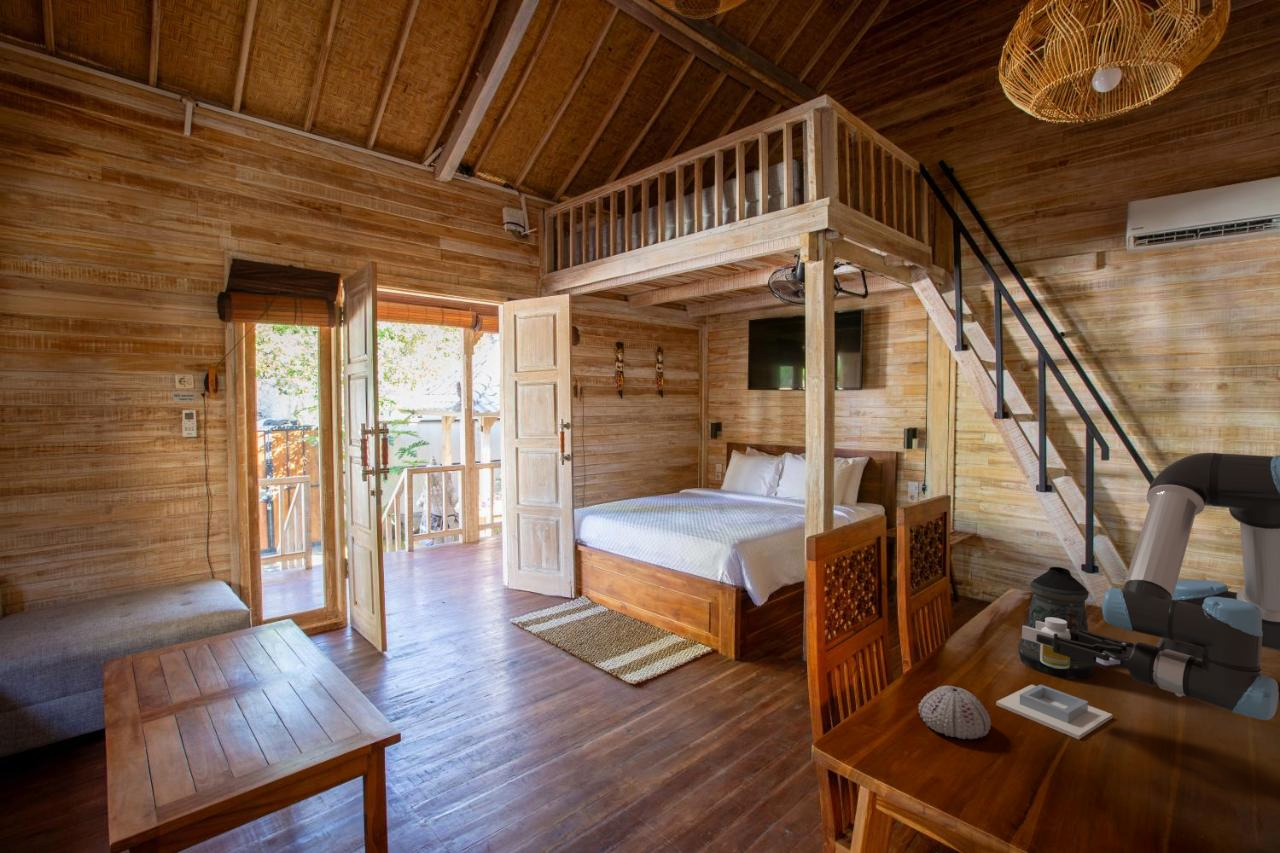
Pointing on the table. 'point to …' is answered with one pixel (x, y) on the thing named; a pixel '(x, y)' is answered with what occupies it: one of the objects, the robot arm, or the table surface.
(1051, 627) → the supplement bottle
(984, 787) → the table surface
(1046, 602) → the beer stein
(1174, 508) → the robot arm
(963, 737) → the sea urchin shell
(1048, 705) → the socket
